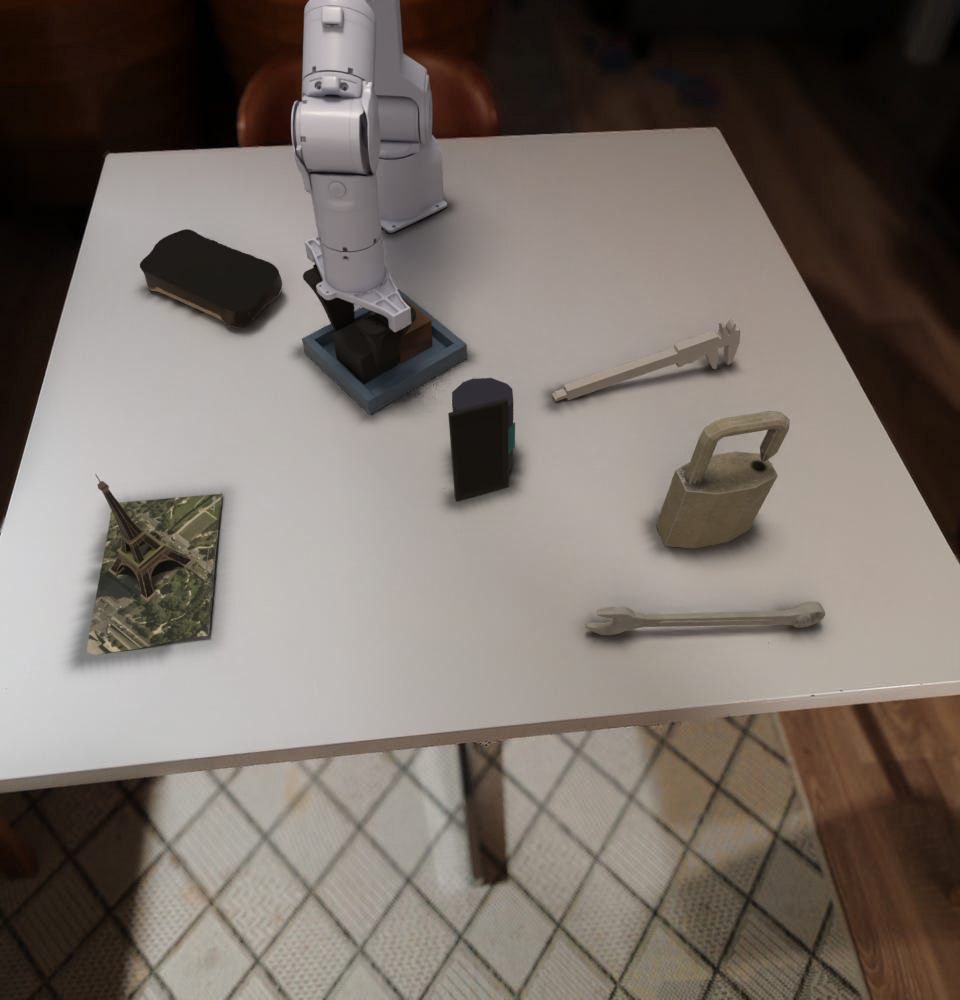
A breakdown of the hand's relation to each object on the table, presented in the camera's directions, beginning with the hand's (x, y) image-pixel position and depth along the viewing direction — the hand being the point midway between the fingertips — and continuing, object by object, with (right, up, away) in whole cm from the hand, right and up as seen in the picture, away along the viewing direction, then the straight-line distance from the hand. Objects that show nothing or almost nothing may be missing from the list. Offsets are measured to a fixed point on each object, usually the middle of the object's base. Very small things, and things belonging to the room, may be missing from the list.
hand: (365, 346), depth 80 cm
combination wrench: (+31, -27, -15) cm, 44 cm away
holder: (+2, 0, +3) cm, 4 cm away
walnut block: (+4, +1, +4) cm, 5 cm away
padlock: (+32, -19, -9) cm, 39 cm away
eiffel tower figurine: (-16, -22, -13) cm, 31 cm away
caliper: (+29, -3, +2) cm, 30 cm away
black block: (0, -1, +2) cm, 2 cm away
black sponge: (-19, +8, +9) cm, 22 cm away
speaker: (+12, -13, -6) cm, 18 cm away
